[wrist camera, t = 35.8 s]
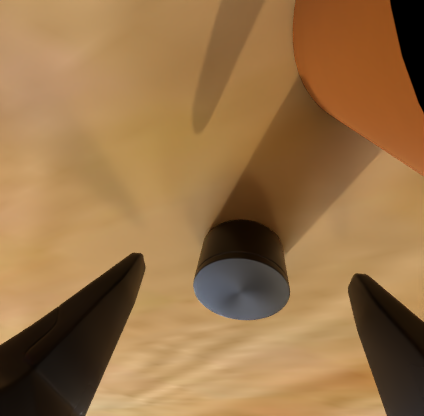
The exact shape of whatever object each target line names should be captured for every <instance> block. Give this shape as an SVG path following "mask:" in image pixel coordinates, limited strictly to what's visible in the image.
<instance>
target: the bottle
mask: <svg viewBox="0 0 424 416" xmlns="http://www.w3.org/2000/svg"><path fill="white" fill-rule="evenodd" d="M293 48H294V55H295V61H296V65H297V68H298V72H299V75H300V77H301V80H302V82H303V84H304V86H305V88H306V90H307V91H308V93H309V95H310V96H311V97H312V99H313V100H314V101H315V102H316V103H317V104H318V105H319V106H320V107H321V108H322V109H323V110H324V111H326V112H327V113H328V114H330V115H331V116H333V117H334V118H336V119H337V120H339V121H340V122H342V123H343V124H345V125H346V126H348V127H350V128H351V129H353V130H354V131H356V132H357V133H359V134H360V135H362V136H363V137H365V138H366V139H368V140H369V141H371V142H372V143H374V144H375V145H377V146H378V147H380V148H381V149H383V150H385V151H386V152H388V153H389V154H391V155H392V156H394V157H395V158H397V159H398V160H400V161H401V162H403V163H404V164H406V165H407V166H409V167H410V168H412V169H413V170H415V171H417V172H418V173H420V174H421V175H423V176H424V0H296V3H295V9H294V19H293Z"/></svg>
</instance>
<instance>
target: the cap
mask: <svg viewBox="0 0 424 416" xmlns="http://www.w3.org/2000/svg"><path fill="white" fill-rule="evenodd" d="M193 287H194V292H195V294H196V297H197V298H198V300H199V301H200V302H201V303H202V304H203V305H204V306H205V307H206V308H208V309H209V310H211V311H213V312H214V313H216V314H219V315H221V316H224V317H228V318H232V319H238V320H256V319H262V318H266V317H269V316H271V315H273V314H275V313H277V312H278V311H280V310H281V309H282V308H283V307H284V306H285V305H286V303H287V302H288V299H289V296H290V288H289V282H288V276H287V271H286V265H285V259H284V254H283V248H282V244H281V242H280V240H279V238H278V237H277V235H276V234H275V233H274V232H273V231H272V230H270V229H269V228H268V227H266V226H264V225H262V224H260V223H257V222H254V221H248V220H233V221H228V222H225V223H221V224H220V225H218V226H216V227H215V228H213V229H212V230H211V231H210V232H209V233H208V234H207V236H206V238H205V239H204V242H203V246H202V250H201V254H200V258H199V262H198V266H197V270H196V274H195V278H194V283H193Z"/></svg>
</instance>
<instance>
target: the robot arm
mask: <svg viewBox="0 0 424 416" xmlns="http://www.w3.org/2000/svg"><path fill="white" fill-rule="evenodd" d="M144 272H145V263H144V258H143V255H142V254H141V253H132V254H130V255H129V256H127V257H126V258H125V259H123V260H122V261H120V262H119V263H118V264H116V265H115V266H114V267H112V268H111V269H109V270H108V271H107V272H105V273H104V274H102V275H101V276H100V277H98V278H97V279H96V280H94V281H93V282H91V283H90V284H89V285H87V286H86V287H84V288H83V289H82V290H80V291H79V292H78V293H76V294H75V295H73V296H72V297H71V298H69V299H68V300H66V301H65V302H64V303H62V304H61V305H60V306H59V307H57V308H55V309H54V310H53V311H51V312H50V313H48V314H47V315H45V316H44V317H43V318H41V319H40V320H38V321H37V322H35V323H34V324H32V325H31V326H29V327H28V328H26V329H25V330H23V331H22V332H20V333H19V334H17V335H16V336H14V337H12V338H11V339H9V340H8V341H6V342H4V343H3V344H1V345H0V416H85V415H86V413H87V411H88V408H89V406H90V404H91V401H92V399H93V397H94V395H95V392H96V390H97V388H98V385H99V383H100V381H101V379H102V376H103V374H104V372H105V370H106V367H107V365H108V363H109V360H110V358H111V356H112V354H113V351H114V349H115V347H116V344H117V342H118V340H119V338H120V335H121V333H122V331H123V329H124V326H125V324H126V322H127V319H128V317H129V315H130V313H131V310H132V308H133V306H134V303H135V300H136V298H137V294H138V291H139V288H140V285H141V282H142V279H143V275H144ZM348 293H349V297H350V302H351V306H352V310H353V315H354V319H355V323H356V327H357V331H358V334H359V337H360V340H361V343H362V345H363V348H364V351H365V354H366V357H367V360H368V363H369V365H370V368H371V371H372V374H373V377H374V380H375V383H376V385H377V388H378V391H379V394H380V397H381V400H382V403H383V406H384V408H385V411H386V414H387V416H424V322H423V321H422V320H421V319H419V318H418V317H417V316H416V315H415V314H413V313H412V312H411V311H410V310H409V309H408V308H406V307H405V306H404V305H403V304H402V303H400V302H399V301H398V300H397V299H396V298H394V297H393V296H392V295H391V294H390V293H388V292H387V291H386V290H385V289H384V288H383V287H381V286H380V285H379V284H378V283H377V282H375V281H374V280H373V279H372V278H371V277H369V276H368V275H366V274H358V273H357V274H354V276H353V278H352V280H351V282H350V284H349V286H348Z"/></svg>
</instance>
